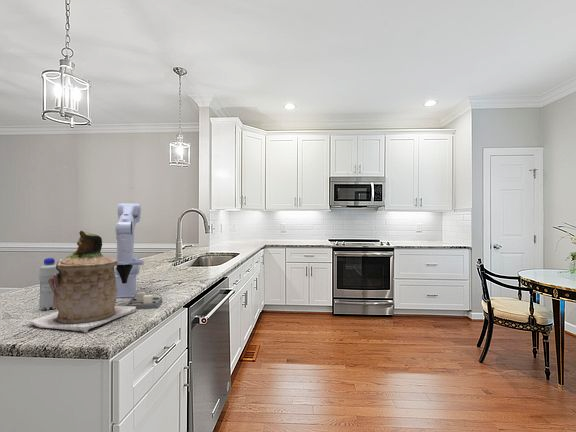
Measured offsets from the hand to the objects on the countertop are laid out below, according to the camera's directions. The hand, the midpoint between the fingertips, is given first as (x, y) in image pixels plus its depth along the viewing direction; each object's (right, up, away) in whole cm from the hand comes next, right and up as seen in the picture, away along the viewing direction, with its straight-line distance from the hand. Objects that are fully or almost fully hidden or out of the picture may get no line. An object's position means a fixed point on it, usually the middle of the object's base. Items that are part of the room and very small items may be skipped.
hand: (124, 283), depth 130 cm
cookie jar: (-5, -9, -17) cm, 20 cm away
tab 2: (+11, -8, -3) cm, 14 cm away
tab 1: (+6, -8, +1) cm, 10 cm away
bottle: (-26, -9, -6) cm, 29 cm away
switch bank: (+9, -9, -1) cm, 13 cm away
